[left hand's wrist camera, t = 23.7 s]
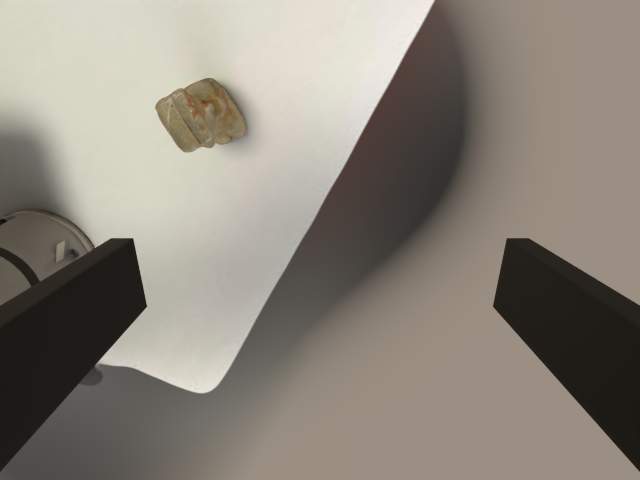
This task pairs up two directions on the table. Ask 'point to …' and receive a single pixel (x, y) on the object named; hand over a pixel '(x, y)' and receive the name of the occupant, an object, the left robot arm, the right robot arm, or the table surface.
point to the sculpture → (200, 116)
